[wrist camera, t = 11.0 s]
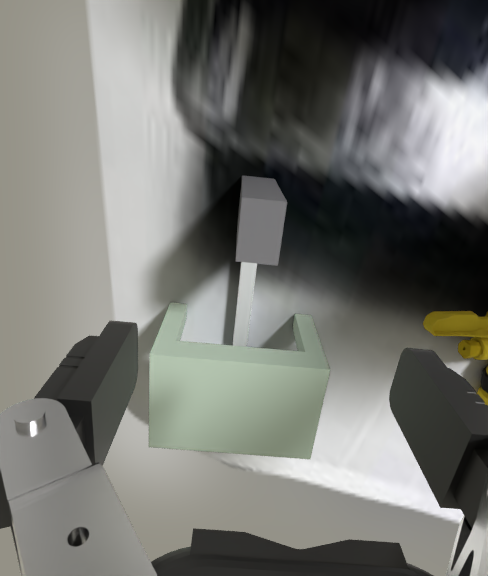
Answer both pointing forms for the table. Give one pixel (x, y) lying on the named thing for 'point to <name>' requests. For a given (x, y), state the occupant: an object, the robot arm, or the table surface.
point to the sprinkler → (464, 323)
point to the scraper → (256, 242)
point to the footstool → (235, 393)
